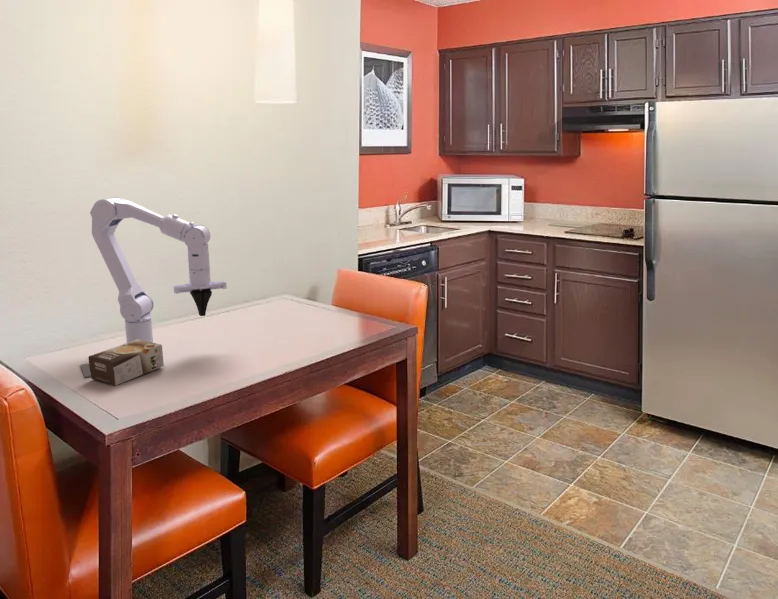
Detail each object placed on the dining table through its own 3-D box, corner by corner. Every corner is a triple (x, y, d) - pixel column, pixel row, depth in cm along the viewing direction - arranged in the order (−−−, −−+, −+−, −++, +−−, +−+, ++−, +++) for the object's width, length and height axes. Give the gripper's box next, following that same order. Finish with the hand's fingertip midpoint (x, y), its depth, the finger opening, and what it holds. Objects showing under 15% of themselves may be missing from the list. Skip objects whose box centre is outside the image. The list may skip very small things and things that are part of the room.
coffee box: (162, 343, 181) (113, 362, 167) (164, 366, 183) (115, 386, 169) (137, 338, 185) (87, 356, 172) (139, 360, 187) (90, 379, 173)
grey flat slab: (80, 366, 184) (80, 364, 184) (134, 358, 191) (134, 356, 191) (85, 378, 175) (84, 376, 175) (142, 369, 182) (142, 367, 182)
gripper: (176, 273, 187) (179, 321, 190) (228, 268, 193) (231, 315, 197) (170, 269, 193) (174, 315, 196) (221, 264, 199) (224, 310, 203)
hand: (202, 315), depth 196 cm, fingers closed
